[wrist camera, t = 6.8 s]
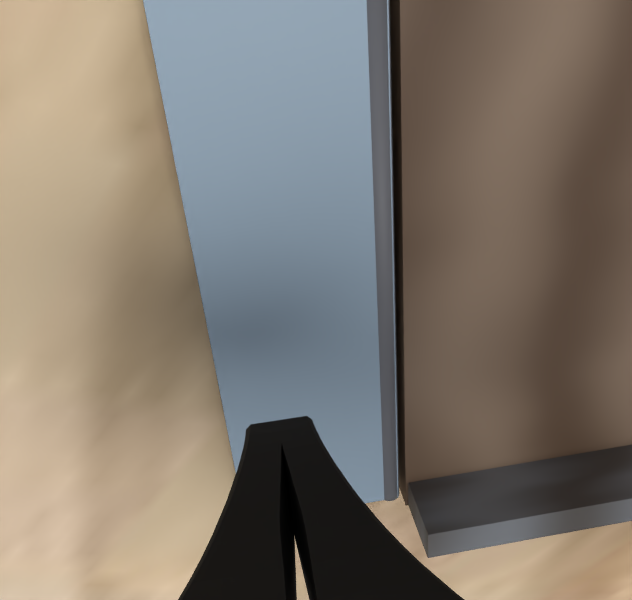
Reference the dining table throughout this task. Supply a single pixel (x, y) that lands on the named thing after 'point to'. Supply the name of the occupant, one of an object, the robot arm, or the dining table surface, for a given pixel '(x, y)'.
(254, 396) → the bar
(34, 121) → the dining table surface
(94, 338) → the dining table surface
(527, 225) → the flatbed
